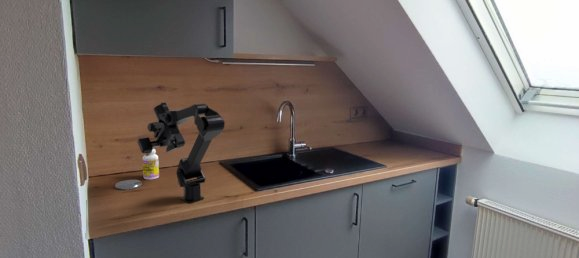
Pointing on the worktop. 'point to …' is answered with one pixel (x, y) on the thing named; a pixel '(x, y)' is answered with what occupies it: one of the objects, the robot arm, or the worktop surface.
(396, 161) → the worktop surface
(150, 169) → the supplement bottle
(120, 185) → the steel plate
